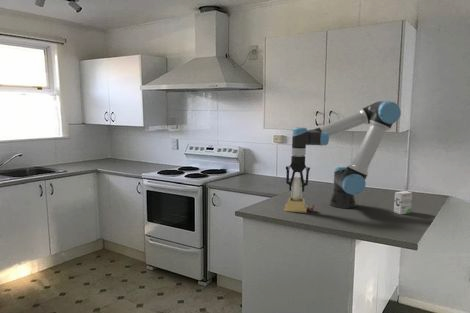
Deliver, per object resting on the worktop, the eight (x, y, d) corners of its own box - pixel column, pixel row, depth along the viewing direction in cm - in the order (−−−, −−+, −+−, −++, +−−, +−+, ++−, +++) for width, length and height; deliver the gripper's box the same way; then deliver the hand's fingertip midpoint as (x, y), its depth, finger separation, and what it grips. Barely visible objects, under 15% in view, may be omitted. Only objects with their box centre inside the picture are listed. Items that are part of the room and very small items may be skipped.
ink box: (403, 210, 213) (405, 190, 211) (411, 213, 209) (412, 192, 207) (393, 212, 209) (394, 191, 208) (400, 214, 205) (402, 193, 203)
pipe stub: (300, 201, 210) (301, 177, 208) (299, 203, 206) (301, 178, 204) (292, 200, 211) (293, 176, 209) (291, 202, 207) (293, 178, 205)
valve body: (313, 209, 211) (314, 199, 210) (313, 213, 202) (313, 203, 201) (286, 207, 214) (286, 197, 214) (284, 211, 206) (284, 200, 205)
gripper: (314, 155, 206) (312, 196, 209) (283, 153, 210) (281, 194, 213) (314, 157, 199) (312, 199, 202) (281, 155, 203) (280, 197, 206)
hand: (296, 196), depth 208 cm, fingers closed on pipe stub, 4 cm apart
